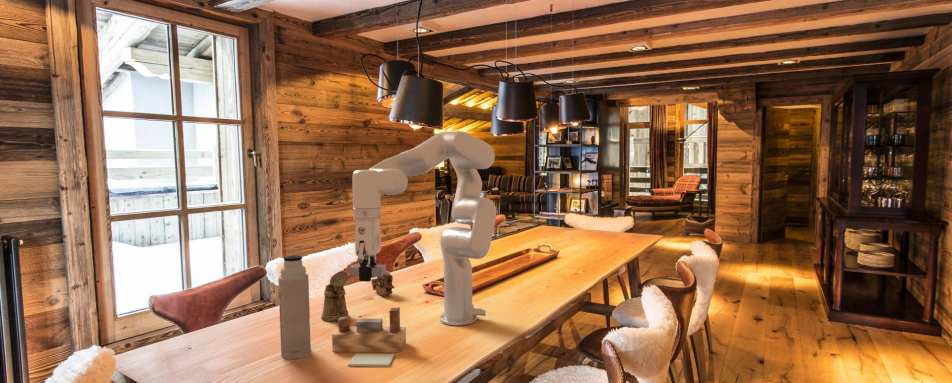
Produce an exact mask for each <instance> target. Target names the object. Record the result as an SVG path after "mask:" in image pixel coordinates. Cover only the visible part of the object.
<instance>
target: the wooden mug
mask: <svg viewBox="0 0 952 383" xmlns="http://www.w3.org/2000/svg"><path fill="white" fill-rule="evenodd" d="M348 279H349V274H348V273H346V272H344V271H339V272H336V273H334V275H332V276H331V277H330V280H329V284H326V286H325V289H324V292H323V296H324V300H323V306H322V307H323V309H322V313H321V320H322V321H324V322H325V321H326V322H338V318H340V317H349V310H348V308H347V302H346V301H347V300H346V290H345V287H344V285H345V284H346V283H347V281H348Z"/></svg>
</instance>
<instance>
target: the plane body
mask: <svg viewBox="0 0 952 383" xmlns="http://www.w3.org/2000/svg"><path fill="white" fill-rule="evenodd" d="M400 310H401V308H400V307H391V308H390V309H389V310H388V311H389V326H384V325H383V322H384V321H383V319H382V318H358V319H357V320H356V321H355V325H354V326H351V322H350V321H351V320H350V318H351V317H349V316H348V317H340V318H338V321H337V322H338V327H337V329H336V330H335V331H334V332H332V335H331V341H332V342H331V343H332V345H331V347H332V352H335V353H336V352H340V353H341V352H342V353H343V352H348V353H350V352H352V353H355V352H357V353H367V352H368V353H373V352H374V353H402V352H403V350H404V348H405V346H406V344H407V327H406V326H401V313H400V312H401V311H400Z"/></svg>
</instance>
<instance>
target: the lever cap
mask: <svg viewBox="0 0 952 383" xmlns="http://www.w3.org/2000/svg"><path fill="white" fill-rule="evenodd" d="M370 267H371V278H377V277H382V276H383V275H384V274H385V273H386V271H387V270H386V268H387V267H386V264H376V265H370ZM348 270H349V272H348V273H349V274H348V277H359V263H357V264H356V263H354V264H353V265H351V266H349V268H348Z"/></svg>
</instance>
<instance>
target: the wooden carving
mask: <svg viewBox="0 0 952 383" xmlns="http://www.w3.org/2000/svg"><path fill="white" fill-rule="evenodd" d="M393 278H394V277H393V275H392V274H391V273H390V271H388V270H386V273H385V274H384V275H383V276H382V277H375V278H371V281H370V282H371V286H372V290H373V291H375V292H376V294H377V295H378V296H382V297H383V296H385V297H386V296H387V297H388V296H391V295H392V294H393V289H395V285H393V280H394V279H393Z"/></svg>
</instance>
